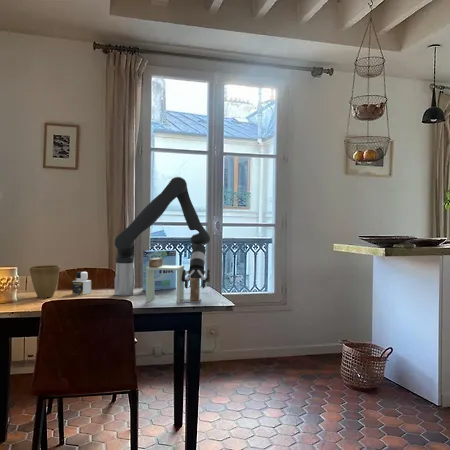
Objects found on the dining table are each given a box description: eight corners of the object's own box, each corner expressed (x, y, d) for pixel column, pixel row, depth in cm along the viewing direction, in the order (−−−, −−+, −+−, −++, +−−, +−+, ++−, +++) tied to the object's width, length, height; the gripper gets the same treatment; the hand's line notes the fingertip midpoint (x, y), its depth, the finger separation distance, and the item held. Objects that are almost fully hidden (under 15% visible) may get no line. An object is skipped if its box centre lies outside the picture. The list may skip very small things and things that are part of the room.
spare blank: (149, 267, 226) (149, 259, 226) (154, 265, 237) (154, 257, 237) (157, 267, 225) (157, 259, 225) (162, 265, 236) (162, 257, 236)
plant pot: (43, 294, 248) (43, 264, 247) (66, 295, 243) (66, 265, 242) (22, 298, 233) (22, 267, 233) (46, 300, 228) (46, 268, 228)
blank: (190, 301, 226) (190, 278, 226) (191, 299, 230) (191, 277, 230) (198, 301, 226) (198, 279, 226) (199, 299, 230) (199, 278, 230)
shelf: (145, 302, 225) (145, 267, 225) (152, 297, 238) (152, 265, 238) (178, 303, 223) (179, 268, 223) (183, 298, 236) (184, 265, 236)
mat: (182, 302, 225) (182, 301, 225) (185, 299, 233) (185, 298, 233) (199, 303, 224) (199, 302, 224) (201, 300, 232) (201, 299, 232)
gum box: (172, 287, 276) (172, 249, 276) (176, 288, 272) (176, 250, 272) (142, 290, 265) (142, 250, 265) (146, 291, 261) (146, 251, 261)
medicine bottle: (72, 294, 249) (72, 272, 249) (80, 292, 255) (81, 270, 255) (82, 295, 246) (82, 272, 246) (91, 293, 253) (91, 271, 252)
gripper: (183, 257, 236) (179, 283, 224) (210, 257, 235) (208, 282, 223) (184, 266, 241) (181, 292, 230) (211, 266, 240) (209, 292, 229)
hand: (194, 287), depth 227 cm, fingers open, 8 cm apart
